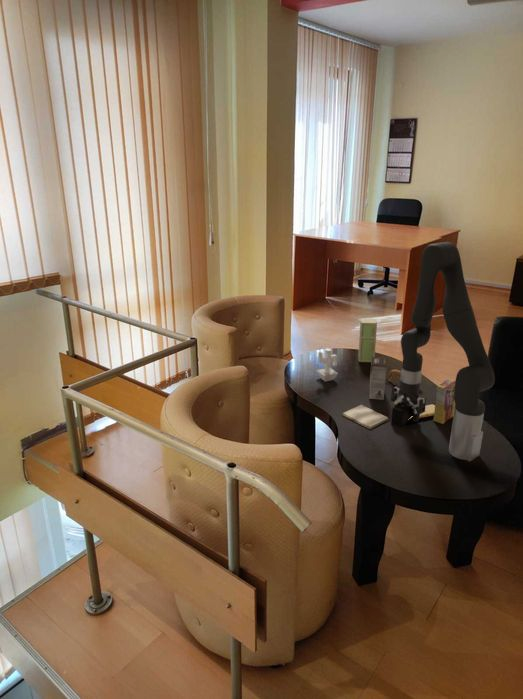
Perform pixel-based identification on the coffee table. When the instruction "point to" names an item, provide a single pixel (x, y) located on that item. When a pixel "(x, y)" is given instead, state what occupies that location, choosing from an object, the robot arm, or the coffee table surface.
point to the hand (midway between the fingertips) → (406, 416)
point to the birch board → (365, 416)
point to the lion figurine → (393, 375)
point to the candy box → (444, 401)
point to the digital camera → (401, 414)
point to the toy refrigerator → (367, 339)
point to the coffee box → (377, 378)
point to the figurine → (327, 365)
